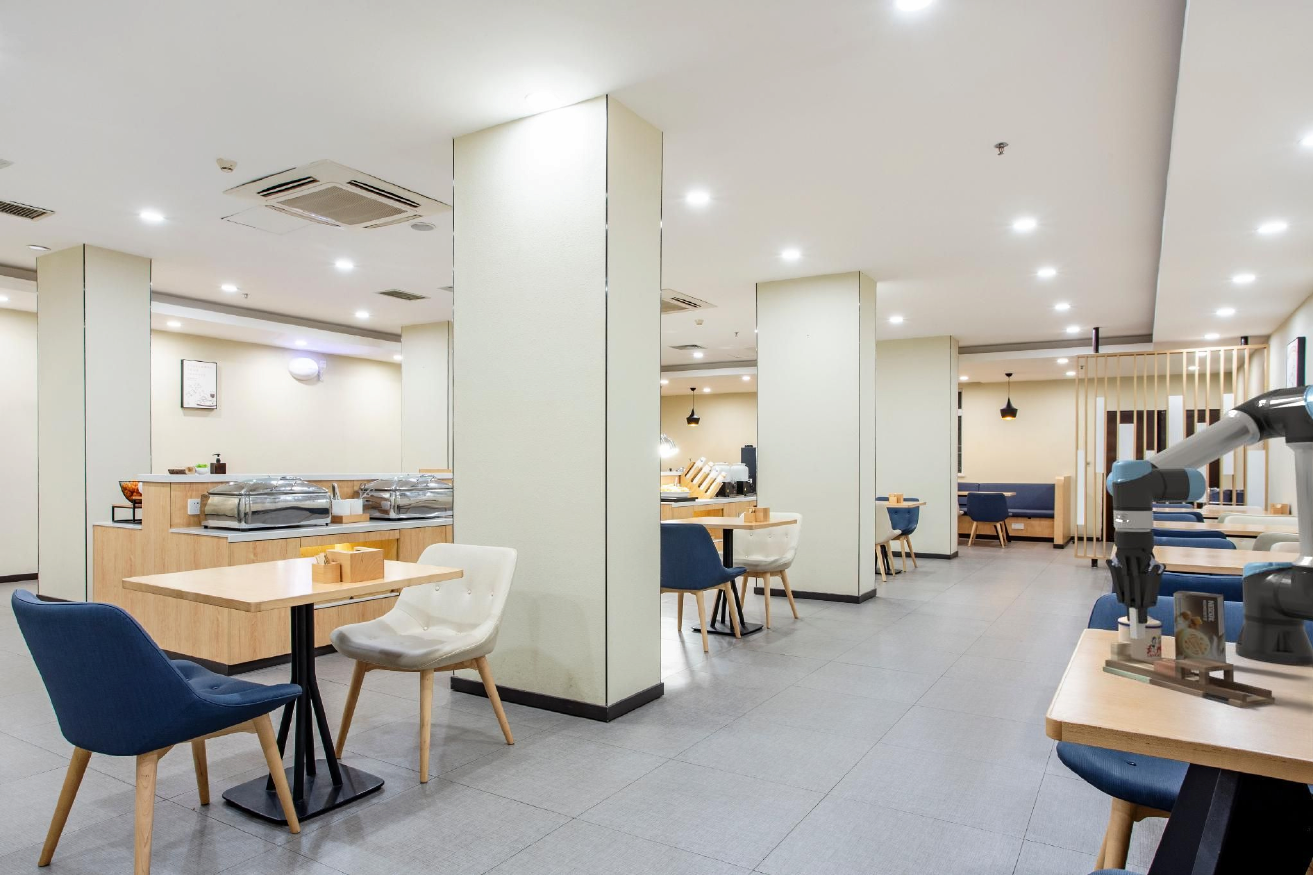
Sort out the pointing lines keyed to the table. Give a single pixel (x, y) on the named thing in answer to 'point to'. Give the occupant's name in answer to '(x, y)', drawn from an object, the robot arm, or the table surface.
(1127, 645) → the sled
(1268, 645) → the robot arm
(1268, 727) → the table surface
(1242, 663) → the table surface
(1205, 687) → the tunnel board
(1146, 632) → the teacup with lid
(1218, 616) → the coffee box
